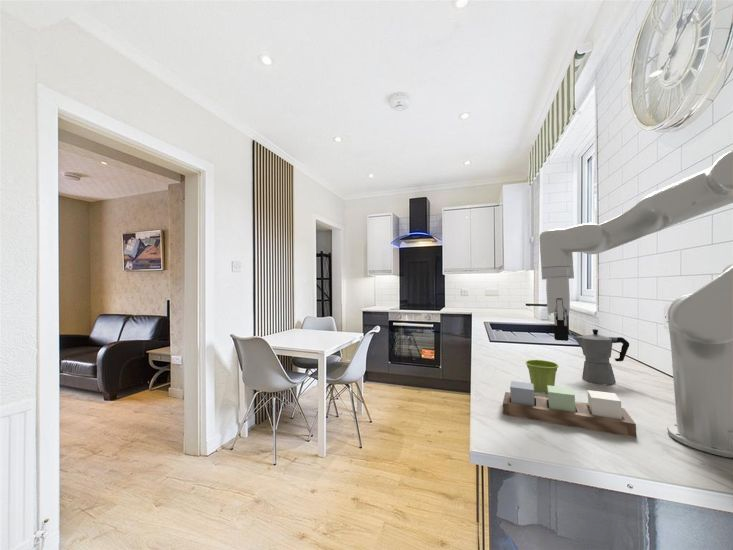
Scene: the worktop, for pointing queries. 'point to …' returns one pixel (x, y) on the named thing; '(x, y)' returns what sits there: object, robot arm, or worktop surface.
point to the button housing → (570, 416)
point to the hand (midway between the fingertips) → (561, 339)
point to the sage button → (561, 398)
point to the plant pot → (542, 374)
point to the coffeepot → (599, 356)
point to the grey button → (522, 393)
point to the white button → (604, 404)
